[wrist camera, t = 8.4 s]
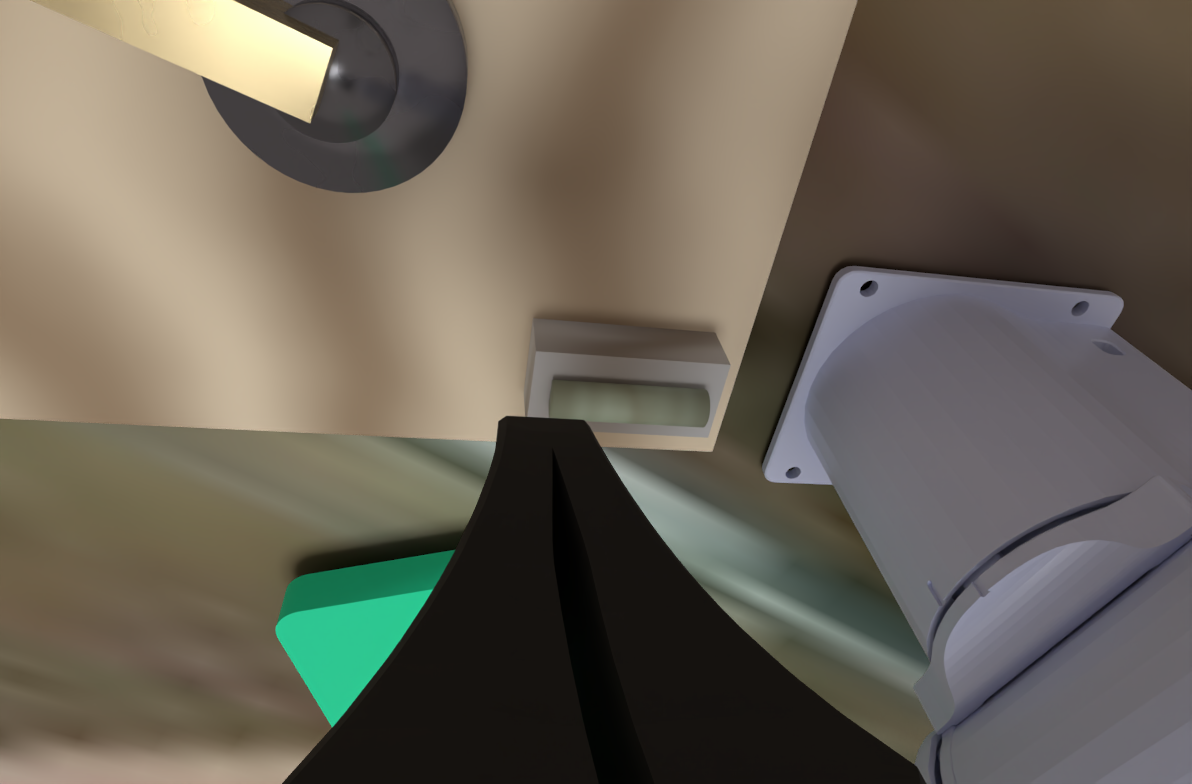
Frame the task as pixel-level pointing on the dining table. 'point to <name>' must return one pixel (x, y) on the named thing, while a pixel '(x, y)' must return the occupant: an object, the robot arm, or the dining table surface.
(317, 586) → the camera mount
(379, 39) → the bar with round base
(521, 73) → the base plate
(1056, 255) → the dining table surface
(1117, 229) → the dining table surface
